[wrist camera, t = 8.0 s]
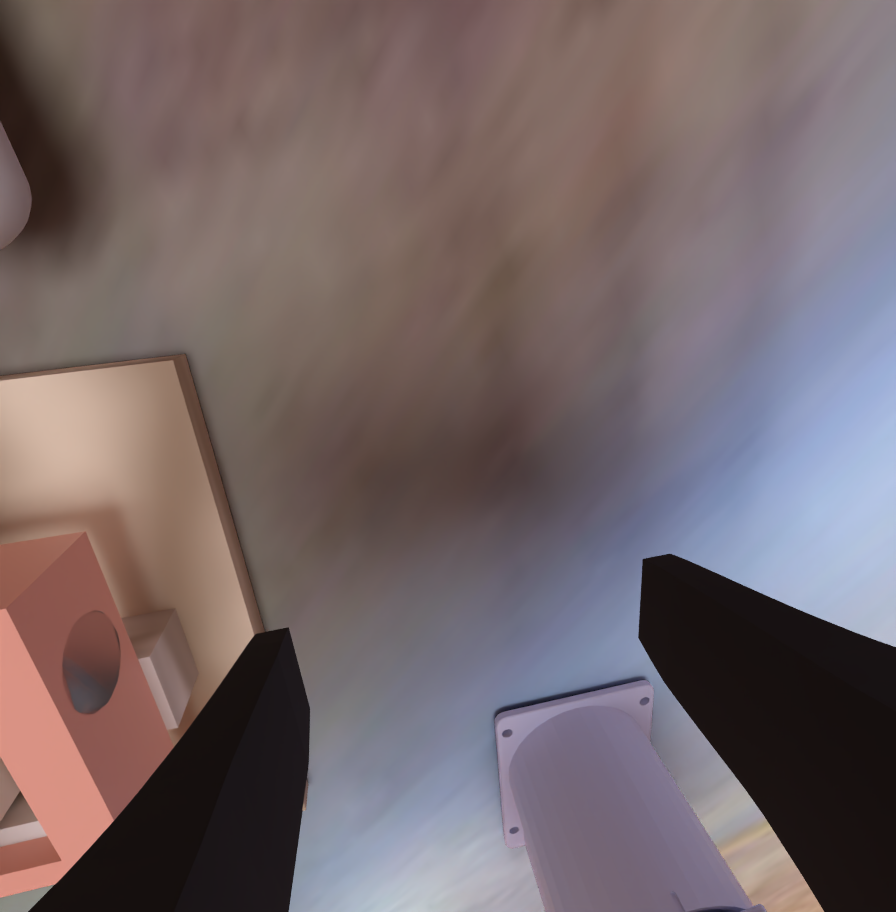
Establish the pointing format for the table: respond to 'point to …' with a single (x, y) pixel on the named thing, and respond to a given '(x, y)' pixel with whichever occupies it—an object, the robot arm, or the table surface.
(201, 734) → the robot arm
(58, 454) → the architectural building model
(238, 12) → the table surface
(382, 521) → the table surface
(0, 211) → the clip-on lamp
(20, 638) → the u-shaped bracket
